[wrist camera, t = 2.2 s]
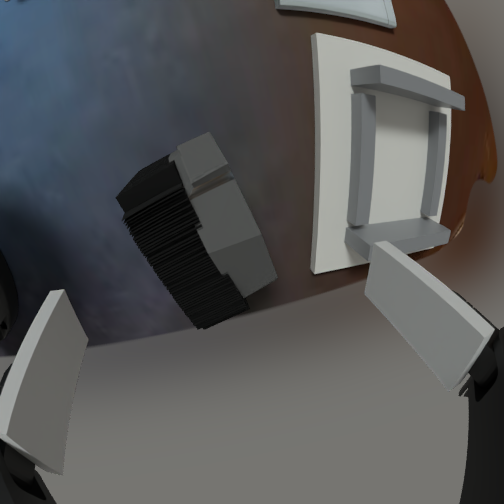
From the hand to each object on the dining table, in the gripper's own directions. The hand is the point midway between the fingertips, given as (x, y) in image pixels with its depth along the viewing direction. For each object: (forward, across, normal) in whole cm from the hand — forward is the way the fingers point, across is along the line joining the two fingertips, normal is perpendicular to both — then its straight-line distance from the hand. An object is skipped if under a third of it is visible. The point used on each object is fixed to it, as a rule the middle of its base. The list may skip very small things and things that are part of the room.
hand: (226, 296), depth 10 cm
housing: (+13, +18, +3) cm, 23 cm away
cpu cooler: (+13, 0, 0) cm, 13 cm away
